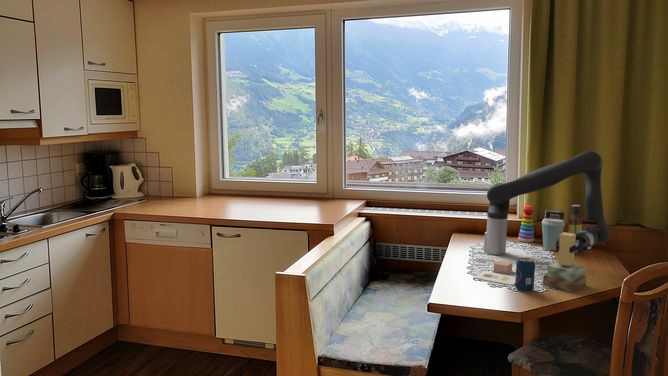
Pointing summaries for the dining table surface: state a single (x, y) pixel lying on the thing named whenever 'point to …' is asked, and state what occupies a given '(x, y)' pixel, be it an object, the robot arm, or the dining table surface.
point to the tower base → (562, 282)
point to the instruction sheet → (496, 277)
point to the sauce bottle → (575, 220)
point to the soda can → (525, 274)
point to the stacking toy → (527, 225)
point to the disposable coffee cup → (551, 232)
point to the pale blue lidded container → (554, 214)
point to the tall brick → (566, 249)
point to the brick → (502, 267)
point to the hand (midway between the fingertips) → (564, 249)
